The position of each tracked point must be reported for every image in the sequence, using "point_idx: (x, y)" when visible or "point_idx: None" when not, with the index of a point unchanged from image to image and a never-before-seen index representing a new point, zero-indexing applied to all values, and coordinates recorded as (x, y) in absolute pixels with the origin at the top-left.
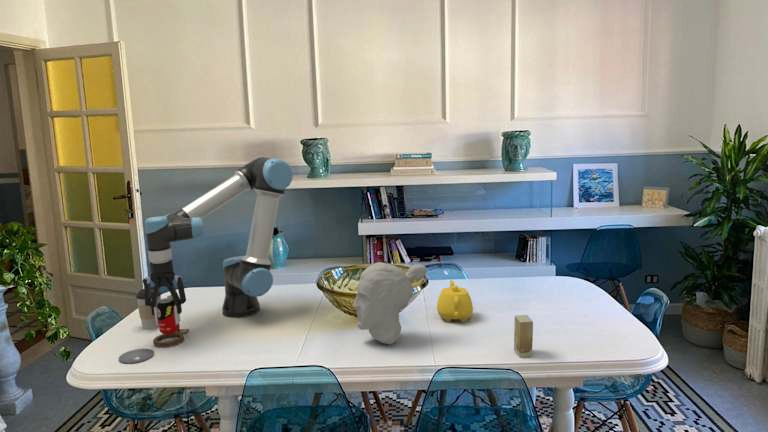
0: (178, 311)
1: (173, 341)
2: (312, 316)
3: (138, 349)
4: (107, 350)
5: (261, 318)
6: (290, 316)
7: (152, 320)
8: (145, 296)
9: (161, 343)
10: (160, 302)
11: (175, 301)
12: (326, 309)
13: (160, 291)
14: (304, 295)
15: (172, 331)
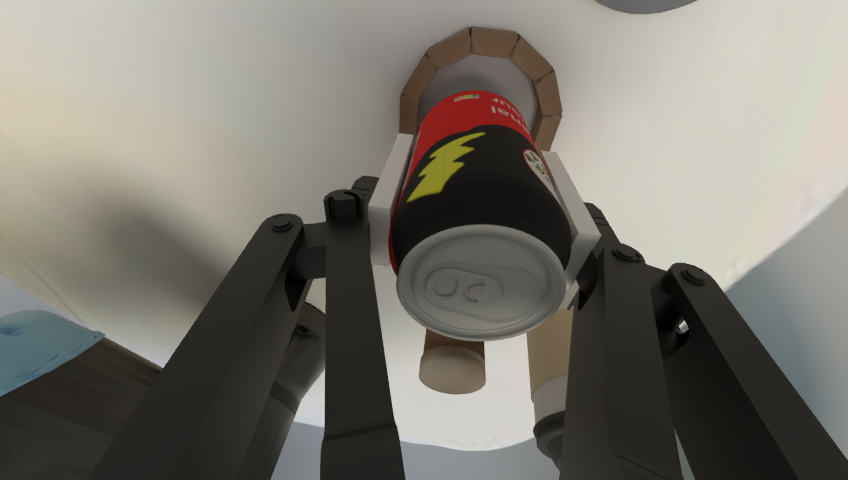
0: (371, 188)
1: (439, 53)
2: (6, 236)
3: (660, 1)
4: (839, 70)
5: (180, 264)
6: (87, 255)
7: (563, 304)
8: (772, 369)
9: (511, 35)
10: (534, 242)
11: (357, 244)
12: (13, 275)
13: (538, 447)
14: (164, 364)
15: (442, 100)
